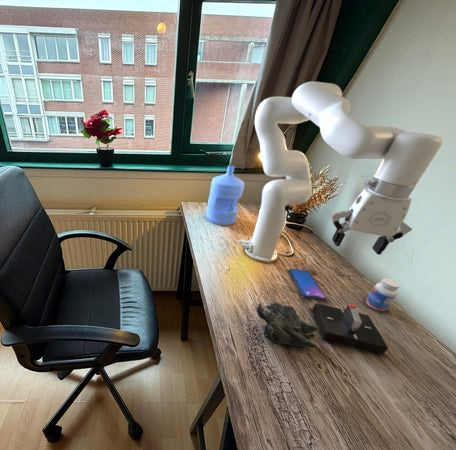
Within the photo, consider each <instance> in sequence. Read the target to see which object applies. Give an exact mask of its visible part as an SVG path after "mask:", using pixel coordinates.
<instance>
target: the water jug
mask: <svg viewBox="0 0 456 450" xmlns="http://www.w3.org/2000/svg"><path fill="white" fill-rule="evenodd" d="M235 167H236V166H235V165H230V164H229V165H227V169H226V173H225V174H221V175H217V176H214V177H212V179H211V180H212V181H211V183H210V189H209V197H208V201H207V208H206V213H205V218H206V219H207V220H208V221H209V222H210V223H213V224H215V225H220V226H230V225H231V226H232V225H233V224H235V223H236V222H237V218H238V212H239V208H238V205H239V199H241V198H242V197H243V192H244V189H245V182H244V181H243V180H242V179H241V178H239V177H237V176H236V175H234V171H235Z"/></svg>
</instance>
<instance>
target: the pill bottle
mask: <svg viewBox="0 0 456 450" xmlns="http://www.w3.org/2000/svg"><path fill="white" fill-rule="evenodd" d="M400 287H401V285H400V284H399V283H398V281H395V280H394V279H392V278H387V277H385V278H382V280H381V281H380V282H377V283H376V284H375V285H374V286H373V288H372V289H371V291H370V292H369V294H368V296H367V297H366V299H365V303H366V304H367V305H368V306H369V307H370V308H372V309H374V310H376V311H379V312H386V311H387V310H388V309H389V307H390V306H391V305H392V303H393V302H394V300H395V299H396V298H397V296H398V294H399V293H398V290H399V288H400Z"/></svg>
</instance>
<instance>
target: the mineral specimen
mask: <svg viewBox="0 0 456 450" xmlns="http://www.w3.org/2000/svg"><path fill="white" fill-rule="evenodd" d="M255 312H256V313H257V316H258V318H260V319H262V320H263V321H265V323H266V325H265V326H264V333H263V334H264V336H263V337H264V338H265V339H266V340H268V342H271V343H274V344H280V345H281V344H282V345H290V346H293V347H300V348H303V347H308V348H311V349H318V345H317V344H316V343H315V342H313V341H312V339H313V338H315V337H316V334H315V333H314V332H318V331H319V328H318V326H316V325H311V324H309V323H308V322H305V321H303V320H301V318H300V315H299V314H298V312H297V311H296V309H295V307H294V306H290V305H284V304H281V303H279V302H275V301H272V302H270V303H269V304H267V305H262V304H261V303H257V306H256V308H255Z"/></svg>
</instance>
